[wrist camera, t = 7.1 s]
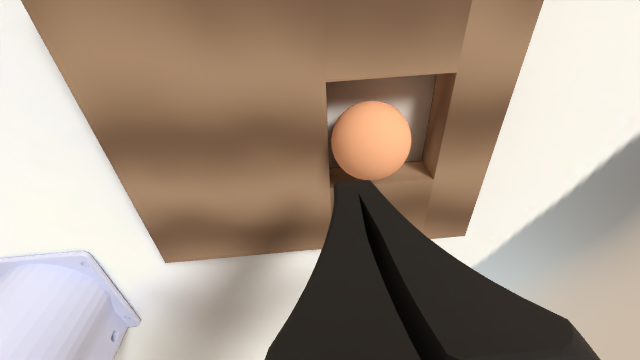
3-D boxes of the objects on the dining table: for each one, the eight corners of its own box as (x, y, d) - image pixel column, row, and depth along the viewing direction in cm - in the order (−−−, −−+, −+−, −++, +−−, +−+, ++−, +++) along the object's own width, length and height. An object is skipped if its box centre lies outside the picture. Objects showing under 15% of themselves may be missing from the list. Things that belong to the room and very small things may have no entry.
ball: (408, 197, 15) (330, 195, 15) (389, 154, 18) (324, 151, 18) (434, 127, 12) (341, 122, 12) (407, 90, 16) (332, 85, 15)
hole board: (451, 215, 22) (464, 235, 20) (175, 240, 21) (165, 263, 19) (532, -70, 12) (569, -76, 11) (39, -40, 12) (-2, -42, 10)
